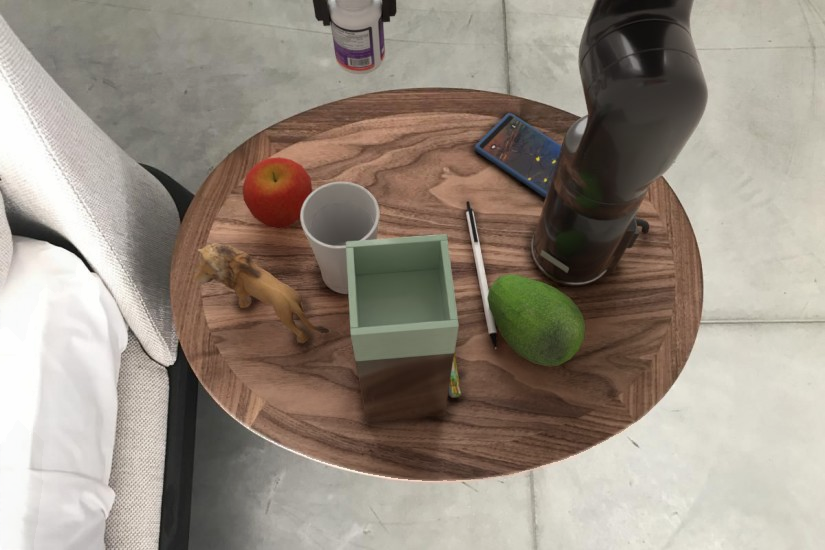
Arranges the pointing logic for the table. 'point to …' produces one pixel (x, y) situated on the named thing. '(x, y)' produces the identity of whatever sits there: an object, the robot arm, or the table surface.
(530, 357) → the fruit
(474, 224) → the pen
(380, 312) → the green open-top box
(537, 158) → the smartphone
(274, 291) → the lion figurine
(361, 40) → the pill bottle
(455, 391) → the pencil
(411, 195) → the table surface
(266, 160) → the apple
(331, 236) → the cup
